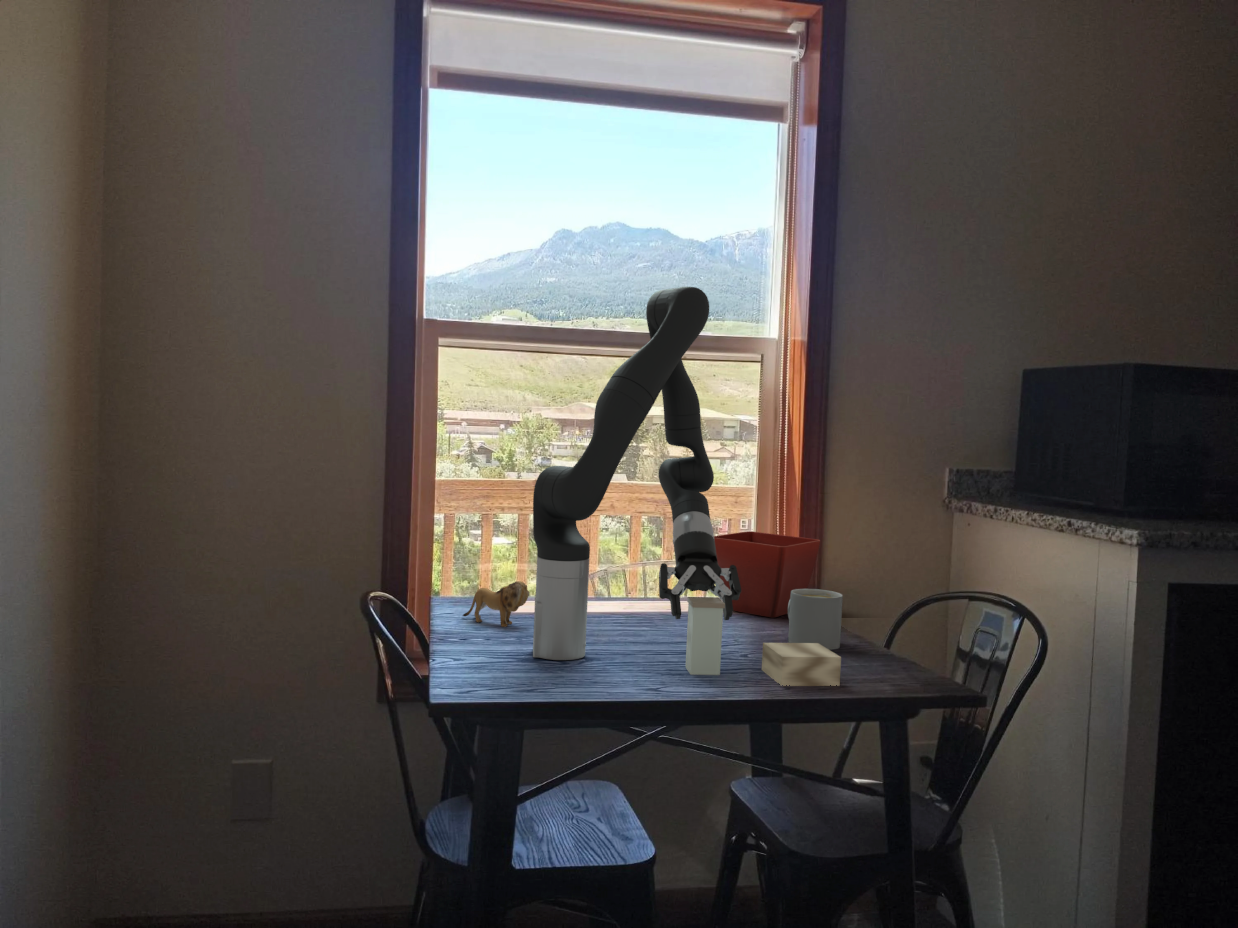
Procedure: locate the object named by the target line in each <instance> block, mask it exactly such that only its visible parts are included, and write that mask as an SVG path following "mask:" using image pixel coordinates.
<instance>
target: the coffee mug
mask: <svg viewBox="0 0 1238 928" xmlns="http://www.w3.org/2000/svg"><path fill="white" fill-rule="evenodd" d="M843 596H844V595H843V593H840V592H836V591H832V590H828V589H827V590H826V589H818V588H807V589H795V590H792V591H791V596H790V600H789V603H788V614H787V618H788V636H787V638H788V639H787V643H819V644H820V645H822V646H824V647H825V648H827V649H829V650H830V651H832V650H837V649H840V647H841V635H842V633H841V631H842V615H843V600H844V599H843V598H844V597H843Z"/></svg>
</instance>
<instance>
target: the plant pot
mask: <svg viewBox="0 0 1238 928" xmlns="http://www.w3.org/2000/svg"><path fill="white" fill-rule="evenodd" d="M714 540H715V547H716V554H717V561H718V565H719V566H720V567H721V568H730V566H731V565H735V566H736V568H737V572H738V577H739V581H740V585H741V593H740V596H739V599H738V600H732V604H733V612H739V613H743V614H744V613H745V614H749V615H756V616H762V617H766V618H778V617H780V616H785V615H788V603H789V600H790V596H791V591H792V590H795V589H809V588H808V587H809V585H810V581H811V579H812V575H813V572H814V569H815V565H816V562H817V558H818V554H819V548H820V544H821V540H820V539H816V538H808V537H801V536H792V535H786V534H777V533H776V534H775V533H769V532H768V533H767V532H760V531H748V530H747V531H741V532H734V533H733V532H732V533H728V534H727V533H726V534H720V535H714ZM720 579H721V580H722V581H723V582H724V584H725V586H726V587H728V588H729V589H730V585H729V581H726V579H725V577H724V576H722V575H721V576H720Z"/></svg>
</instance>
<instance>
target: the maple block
mask: <svg viewBox="0 0 1238 928" xmlns="http://www.w3.org/2000/svg"><path fill="white" fill-rule="evenodd" d="M761 656H762V657H761V671H763V672H764V673H765V675H767V676H768V677H770V678H771V679H772V680H773V679H774V680H773V681H775V682H776V683H777V684H778V683H779V684H780V685H779V684H778V685H779V686H781V687H840V685H841V684H840V683H841V666H842V656H840V655H838V654H837V653H835V652H834V651H832V650H829V649H827V648H825V647H824V646H822V645H820V644H819V643H788V642H762V655H761ZM782 685H783V686H782ZM786 685H787V686H786ZM789 685H790V686H789ZM830 685H831V686H830ZM836 685H837V686H836Z"/></svg>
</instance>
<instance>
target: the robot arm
mask: <svg viewBox="0 0 1238 928" xmlns="http://www.w3.org/2000/svg"><path fill="white" fill-rule="evenodd" d="M708 298H709V297H708V295H707V294H706V293H705V292H704V291H703V290H702V289H701V288H699V287H695V286H680V287H679V286H678V287H674V288H665V289H660V290H657V291H655V292H653V294H651V296H650V297H649V299H648V300H647V304H646V310H645V312H646V313H645V316H646V323H647V329H648V335H649V338H650V340H649V341H648V342H646V343H645V345H643V346H642V347H641V348H640V349H638V350H637V351H636V352H635V353H633V355H631V356H630V357H629V358H628V359H627V360H625V361H624V362H623V363H622V364H621V365H620V366H619V367H618V368H617V369H616V370H615V371H614V373H612V376H611V377H610V378H609V380H608V382H607V383H606V385H605V386H604V388H603V389H602V391H601V393H600V395H599V397H598V399H597V400H596V404H595V408H594V416H593V417H594V418H593V429H592V430H593V431H592V435H591V439H590V441H589V443H588V445H587V447H586V449H585V450H584V452H583V453H582V455H581V456H580V457H579V459H578V461H577V462H576V463H575V464H574V465H573V466H566V465H552V466H547V468H545V469H543V470H542V471H541V472H540V474H539V475H538V477H537V479H536V481H535V484H534V488H533V494H532V495H533V498H532V499H533V500H532V519H533V521H532V530H533V531H532V533H533V535H532V536H533V539H534V543H535V545H536V556H537V557H536V574H535V575H536V577H535V580H536V581H535V597H534V616H533V617H534V618H533V636H532V638H533V639H532V641H533V642H532V657H533V658H540V659H546V660H551V661H552V660H553V661H573V660H578V659H579V660H580V659H582V658H584V657H585V656H586V647H587V626H588V625H587V622H588V621H587V620H588V599H589V598H588V597H589V578H590V577H589V576H590V575H589V574H590V555H591V554H590V553H591V546H590V544H589V542H588V540H587V539H586V538H584V536H582V535H581V533H580V531H579V529H578V527H577V522H579V521H584V520H587V519H588V518H589V517H591V516H592V515H593V514H594V513H595V512H596V511H597V509H598V508H599V506H600V505H601V502H602V501H603V499H604V497H605V495H606V493H607V491H608V488H609V486H610V484H611V481H612V479H613V477H614V475H615V472H616V470H617V468H618V466H619V464H620V462H621V460H622V458H623V456H624V454H625V453H626V451H627V450H628V448H629V447H630V444H631V443H632V440H633V438H634V437H635V435H636V433H637V432H638V430H639V429H640V428H641V425H642V424H643V423H644V421H645V419H646V417H647V416H648V414H649V413H650V411H651V410H652V407H653V406H654V404H655V403H656V401H657V398H658V396H659V395H660V393H661V394H662V405H663V417H664V418H663V419H664V420H663V421H664V433H665V434H664V435H665V440H666V443H667V444H669V445H671V446H674V447H681V448H686V449H689V450H691V452H692V454H693V456H687V457H670V458H667V459H665V460H664V461H662V463H661V464H660V466H659V468H658V479H659V483H660V486H661V488H662V490H663V492H664V495H665V496H666V498H667V500H668V503H669V505H670V509H671V518H672V545H673V549H674V559H675V560H674V561H675V567H674V566H668V564H666V563H664V562H663V563H661V564H660V566H659V571H658V596H659V599H662V600H665V599H666V600H668V601H669V602H670V612H671V616H672V617H675V620H681V617H682V606H681V597H680V596H682V595H683V594H684V593H685V592H686V591H687V590H689V592H696V591H697V592H698V591H700V592H708V591H710V592H711V593H712V594H713V595H714V596H715V597H717V598H719V599H721V600H722V601H723V602H724V603H725V608H723V621H730V618H732V617H733V616H732V615H733V612H734V611H733V604H732V600H738V599H739V596H740V593H741V585H740V581H739V577H738V572H737V568H736V566H735V565H731V566H730V568H721V567H720V566H719V565H718V561H717V554H716V547H715V540H714V536H715V534H714V528H713V525H712V521H711V516H710V515H711V514H710V508H709V502H708V501H709V500H708V499H707V498H706V495H704V494H703V493H704V492H708V491H709V490H710V489H711V487H712V485H714V484H713V483H714V478H715V477H714V471H713V467H712V465H711V462H710V459H709V457H708V454H707V451H706V448H705V443H704V440H703V434H702V421H701V420H702V419H701V407H700V405H701V404H700V400H699V396H698V393H697V391H696V388H695V386H694V383H693V382H692V380H691V378H690V377H689V374H688V372H687V370H686V368H685V365H684V362H683V359H682V358H683V356H684V355H685V354H686V352H687V351H688V350H689V349H690V347H691V346H692V345H693V343H694V342H695V341H696V339H697V338H698V337H699V335H700V334H701V333H702V331H703V329H704V328H705V326H706V324H707V322H708V319H709V315H710V302H709V299H708ZM672 575H674V577H675V578H676V579H677V582H676V584H675V585H674V586H673V588H672V589H671V588H669V585H668V583H669V582H668V580H670V579H671V577H672ZM721 575H722V576H724V577H725V579H726V581H729V585H730V589H729V588H728V587H726V586H725V584H724V582H723V581H722V580H721V579H720V576H721Z"/></svg>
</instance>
